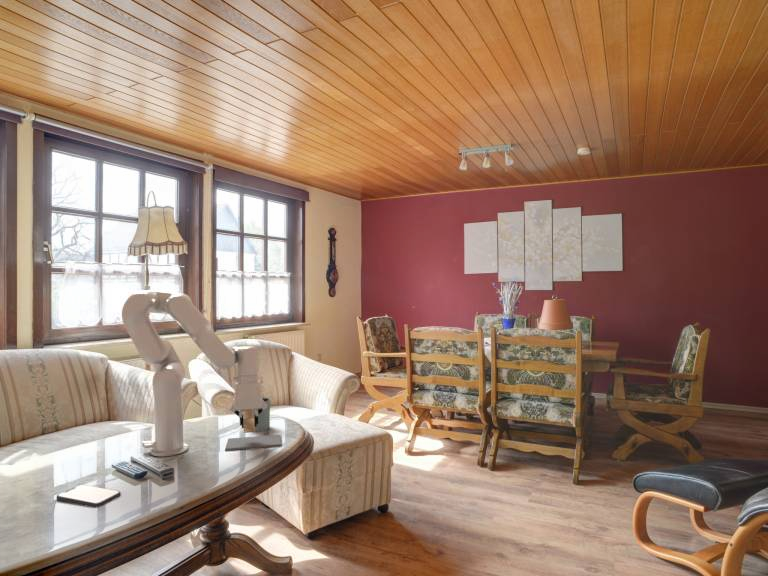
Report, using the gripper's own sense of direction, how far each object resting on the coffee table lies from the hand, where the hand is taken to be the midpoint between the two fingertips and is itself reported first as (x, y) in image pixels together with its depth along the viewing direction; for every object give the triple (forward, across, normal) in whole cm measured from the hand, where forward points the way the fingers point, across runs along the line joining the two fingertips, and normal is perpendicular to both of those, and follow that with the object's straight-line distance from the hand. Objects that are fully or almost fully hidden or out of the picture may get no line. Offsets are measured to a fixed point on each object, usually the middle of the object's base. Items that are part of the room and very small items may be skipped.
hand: (249, 426), depth 189 cm
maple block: (+2, 0, 0) cm, 2 cm away
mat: (+7, +2, 0) cm, 7 cm away
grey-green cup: (+7, +2, +20) cm, 21 cm away
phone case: (+7, -43, -37) cm, 57 cm away
